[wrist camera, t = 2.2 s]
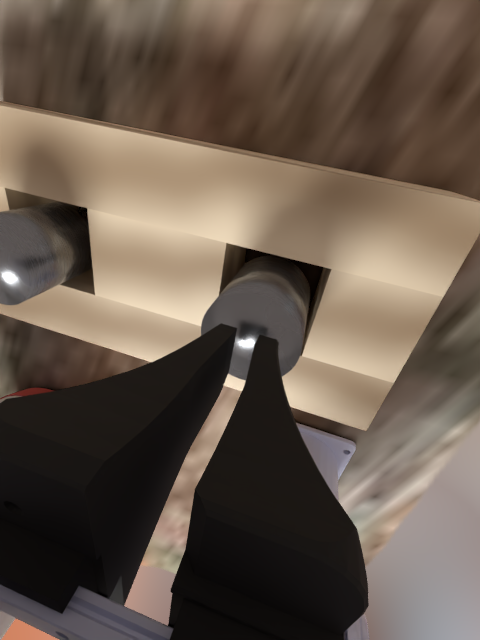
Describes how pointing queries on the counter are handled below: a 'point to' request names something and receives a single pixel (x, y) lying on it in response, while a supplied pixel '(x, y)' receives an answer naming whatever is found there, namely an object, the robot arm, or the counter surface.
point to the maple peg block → (236, 248)
